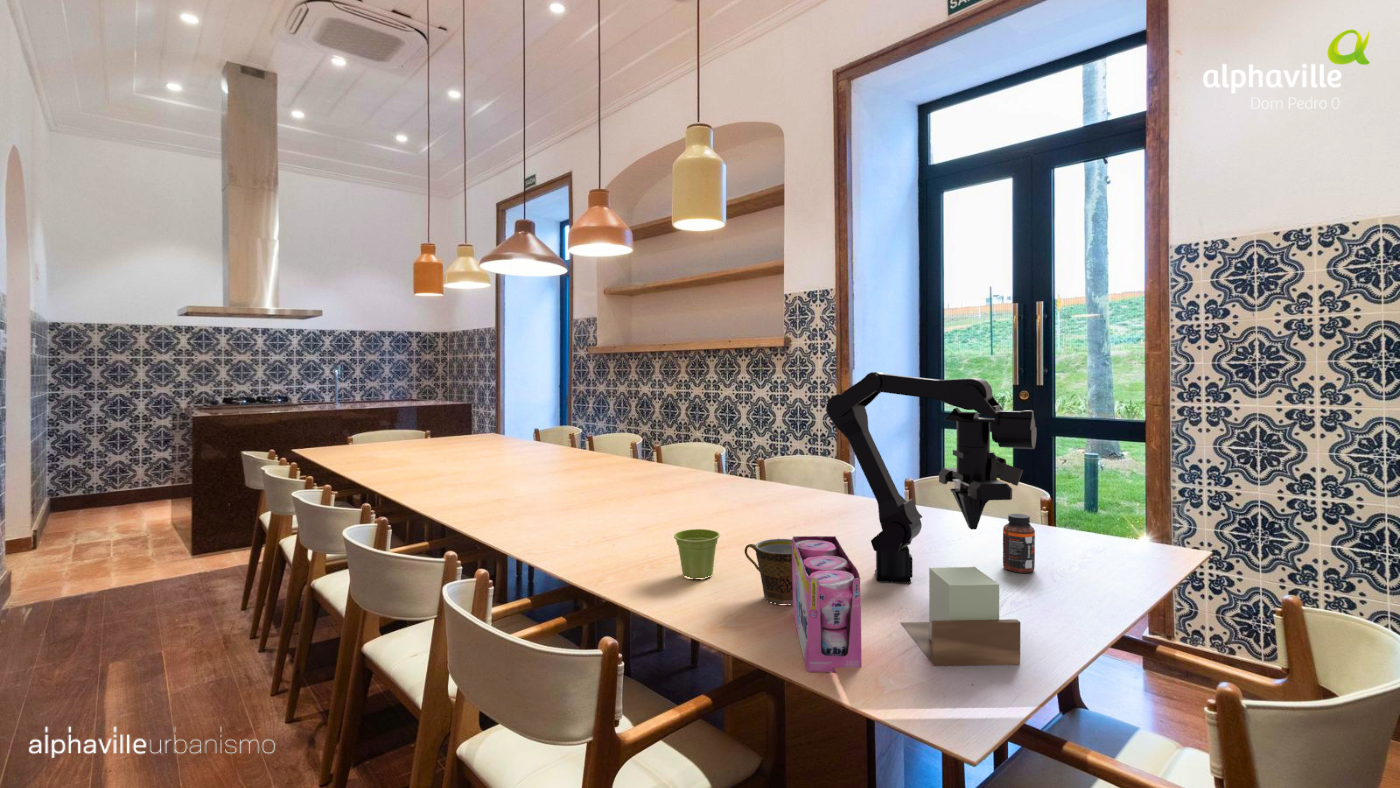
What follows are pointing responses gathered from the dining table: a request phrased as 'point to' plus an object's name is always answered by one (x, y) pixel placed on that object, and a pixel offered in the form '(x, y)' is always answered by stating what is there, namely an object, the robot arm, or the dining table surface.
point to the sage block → (961, 595)
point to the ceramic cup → (775, 569)
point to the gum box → (826, 603)
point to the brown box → (968, 641)
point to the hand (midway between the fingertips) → (972, 528)
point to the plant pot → (697, 551)
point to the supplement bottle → (1019, 544)
